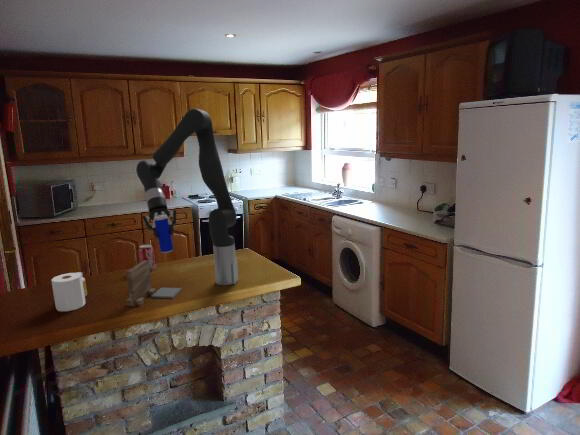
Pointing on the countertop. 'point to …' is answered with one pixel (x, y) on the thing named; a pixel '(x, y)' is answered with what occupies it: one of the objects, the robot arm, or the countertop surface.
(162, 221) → the beverage can
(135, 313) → the countertop surface
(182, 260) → the countertop surface
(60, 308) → the toilet paper
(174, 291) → the coaster
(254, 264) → the countertop surface
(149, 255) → the soda can
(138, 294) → the board
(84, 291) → the supplement bottle
